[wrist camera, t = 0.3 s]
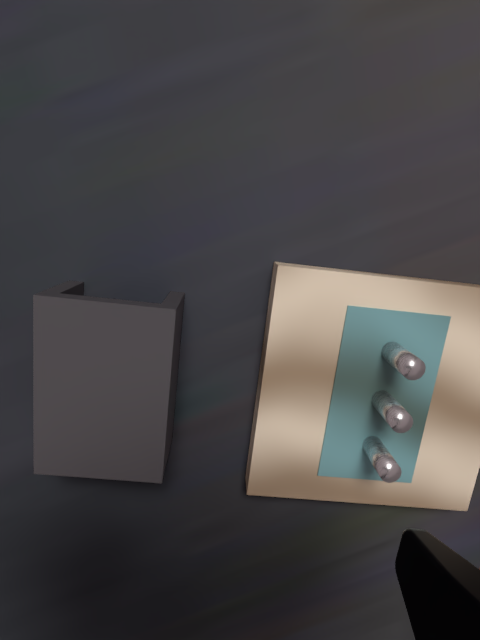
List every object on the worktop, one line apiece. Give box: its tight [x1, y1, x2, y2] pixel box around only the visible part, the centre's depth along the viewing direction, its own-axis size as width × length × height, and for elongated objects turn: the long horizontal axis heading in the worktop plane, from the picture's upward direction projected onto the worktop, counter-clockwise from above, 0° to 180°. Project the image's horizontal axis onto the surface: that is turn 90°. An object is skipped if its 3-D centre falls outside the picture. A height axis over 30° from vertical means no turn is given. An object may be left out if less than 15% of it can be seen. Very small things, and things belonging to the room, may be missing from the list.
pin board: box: [245, 262, 480, 511], centre depth 20 cm, size 12×12×4 cm
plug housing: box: [33, 281, 185, 483], centre depth 19 cm, size 8×6×4 cm
